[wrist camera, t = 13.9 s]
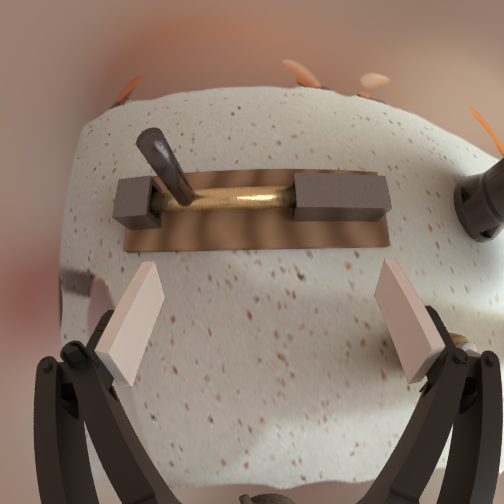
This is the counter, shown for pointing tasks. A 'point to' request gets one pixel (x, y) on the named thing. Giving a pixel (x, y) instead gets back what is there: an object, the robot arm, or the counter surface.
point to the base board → (252, 221)
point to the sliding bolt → (202, 199)
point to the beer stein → (265, 499)
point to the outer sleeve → (340, 197)
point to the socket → (136, 203)
